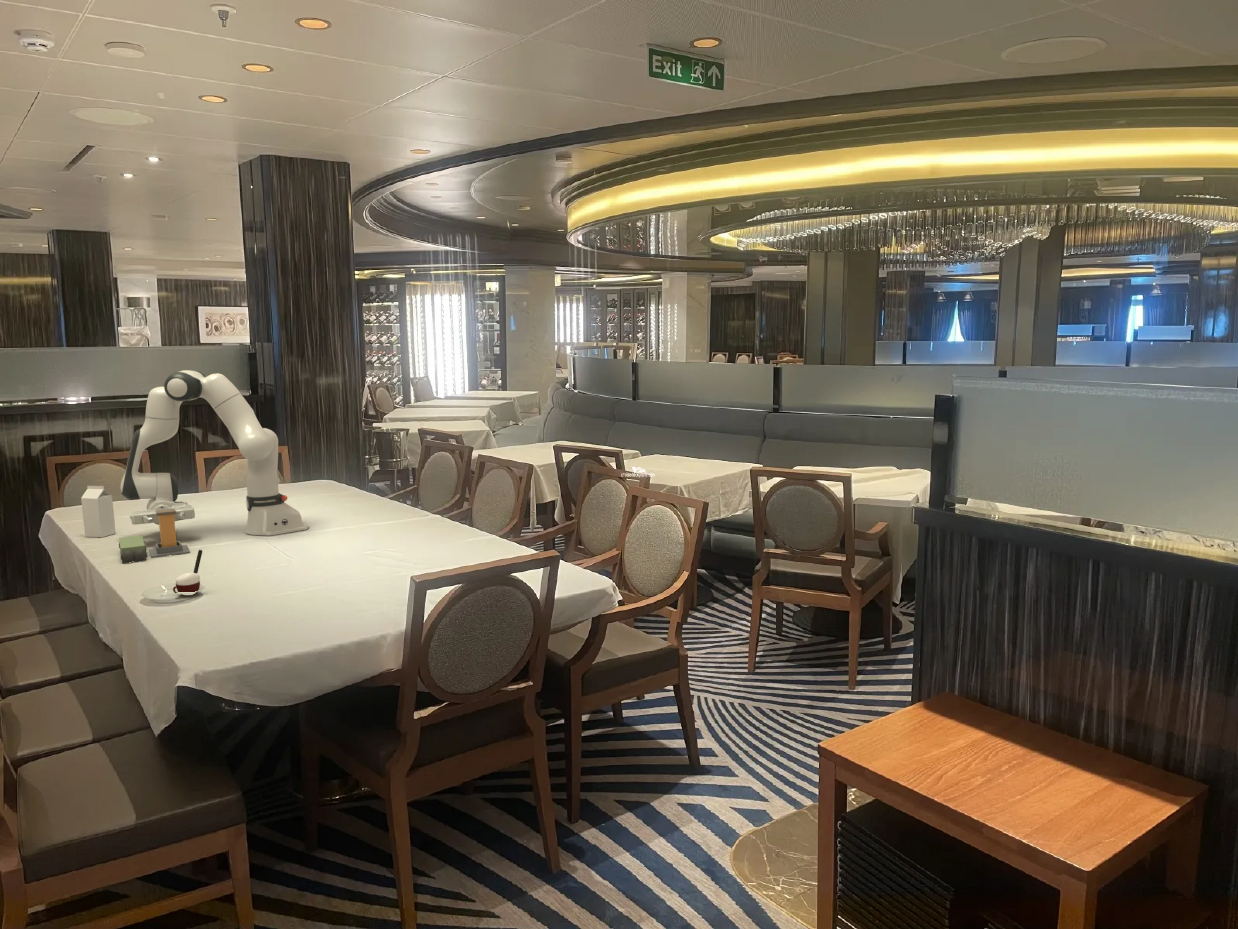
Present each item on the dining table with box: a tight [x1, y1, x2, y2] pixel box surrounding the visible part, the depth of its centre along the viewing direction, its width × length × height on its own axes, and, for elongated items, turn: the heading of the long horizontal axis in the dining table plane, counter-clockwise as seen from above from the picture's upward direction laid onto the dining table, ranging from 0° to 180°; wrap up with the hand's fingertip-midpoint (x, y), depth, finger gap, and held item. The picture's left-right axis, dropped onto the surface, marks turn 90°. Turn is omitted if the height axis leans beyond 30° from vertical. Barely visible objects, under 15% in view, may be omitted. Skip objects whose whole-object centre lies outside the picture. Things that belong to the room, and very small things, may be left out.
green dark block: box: [118, 534, 148, 564], centre depth 294 cm, size 8×20×5 cm, turn 32°
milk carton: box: [80, 485, 117, 538], centre depth 323 cm, size 7×7×19 cm
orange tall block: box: [156, 508, 177, 548], centre depth 298 cm, size 6×6×14 cm
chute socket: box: [148, 540, 191, 559], centre depth 299 cm, size 12×12×3 cm
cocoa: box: [172, 549, 203, 594], centre depth 249 cm, size 10×6×12 cm, turn 128°
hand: (164, 519), depth 304 cm, fingers open, 8 cm apart
